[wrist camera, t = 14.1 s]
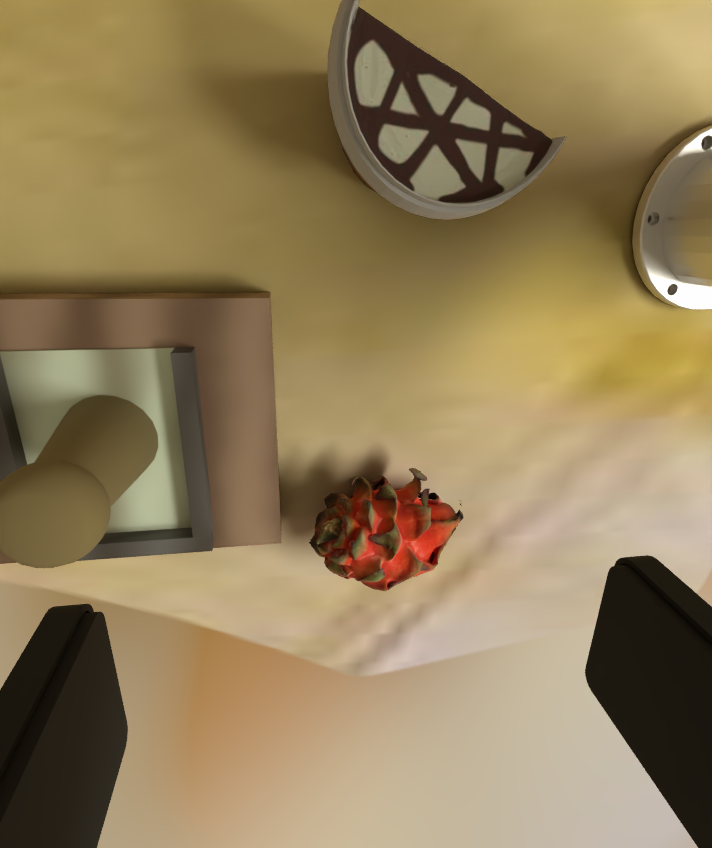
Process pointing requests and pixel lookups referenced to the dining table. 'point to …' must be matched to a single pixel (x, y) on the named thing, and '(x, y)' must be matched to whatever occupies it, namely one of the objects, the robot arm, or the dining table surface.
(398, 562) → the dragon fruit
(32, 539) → the brown rounded bulbous piece
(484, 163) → the food container
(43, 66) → the dining table surface
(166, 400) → the dock
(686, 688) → the robot arm
